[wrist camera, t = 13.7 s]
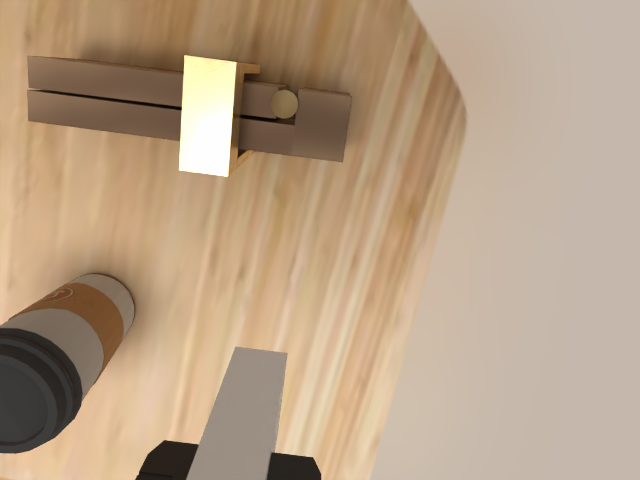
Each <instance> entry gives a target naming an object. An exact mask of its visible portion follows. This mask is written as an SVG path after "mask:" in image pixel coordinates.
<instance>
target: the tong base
mask: <svg viewBox="0 0 640 480" xmlns="http://www.w3.org/2000/svg"><path fill="white" fill-rule="evenodd" d="M27 95H28V121H33V122H40V123H48V124H55V125H63V126H71V127H78V128H86V129H93V130H101V131H109V132H116V133H124V134H131V135H139V136H146V137H154V138H162V139H169V140H177V141H180V140H181V119H182V107H179V106H171V105H163V104H155V103H147V102H139V101H131V100H123V99H115V98H107V97H99V96H91V95H83V94H75V93H67V92H59V91H51V90H27ZM351 100H352V96H351V95H350V94H349V93H342V92H334V91H327V90H319V89H312V88H302V89H300V90H299V91H298V99H297V97H296V96H295V94H294V93H292V92H291V91H288V90H280V91H278V92H276V93H275V94H274V95H273V96H272V98H271V102H270V105H271V109H272V112H273V113H274V114H275V115H276V116H277V118H276V119H275V118H267V117H259V116H251V115H243V114H241V118H240V130H239V143H238V149H245V150H253V151H260V152H268V153H275V154H283V155H291V156H298V157H306V158H313V159H321V160H329V161H336V162H343V157H344V150H345V143H346V136H347V128H348V121H349V114H350V107H351ZM295 113H296V117H293V115H294V114H295Z"/></svg>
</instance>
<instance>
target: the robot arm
mask: <svg viewBox="0 0 640 480" xmlns="http://www.w3.org/2000/svg"><path fill="white" fill-rule="evenodd" d="M286 361H287V353H281V352H273V351H265V350H258V349H250V348H242V347H235V350H234V352H233V355H232V358H231V360H230V363H229V366H228V368H227V371H226V374H225V376H224V379H223V382H222V385H221V387H220V390H219V393H218V395H217V398H216V401H215V403H214V406H213V409H212V411H211V414H210V417H209V420H208V422H207V425H206V428H205V430H204V433H203V436H202V438H201V441H200V444H199V445H198V444H190V443H182V442H174V441H166V440H164V441H163V442H162V443H161V444H159V445H158V446H157V447H156V448H155V449H154V450H152V451H151V452H150V453H149V454H148V455H147V457H146V459H145V461H144V463H143V465H142V467H141V469H140V471H139V475H137V477H136V479H135V480H321V473H320V471H319V469H318V467H317V465H316V462H315V460H314V458H313V457H305V456H297V455H289V454H281V453H274V452H275V446H276V440H277V434H278V426H279V418H280V410H281V402H282V393H283V385H284V377H285V369H286Z"/></svg>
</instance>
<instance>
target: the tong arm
mask: <svg viewBox="0 0 640 480" xmlns="http://www.w3.org/2000/svg"><path fill="white" fill-rule="evenodd" d="M183 77H184V72H177V71H169V70H161V69H153V68H145V67H137V66H129V65H121V64H114V63H106V62H98V61H90V60H82V59H70V58H54V57H38V56H28V79H29V88H35V89H43V90H51V91H59V92H67V93H75V94H83V95H91V96H99V97H107V98H115V99H123V100H131V101H139V102H147V103H155V104H163V105H171V106H179V107H182V98H183ZM280 90H288V85H281V84H273V83H265V82H257V81H249V80H244V81H243V93H242V106H241V114H243V115H251V116H259V117H267V118H275V119H276V118H277V116H276V115H275V114H274V113H273V112H272V109H271V105H270V102H271V98H272V96H273V95H274V94H275V93H276V92H278V91H280Z"/></svg>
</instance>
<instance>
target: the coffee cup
mask: <svg viewBox="0 0 640 480" xmlns="http://www.w3.org/2000/svg"><path fill="white" fill-rule="evenodd" d="M133 319H134V304H133V301H132V298H131V295H130V293H129V292H128V291H127V289H126V288H125V287H124V286H123V285H122V284H121V283H120V282H119V281H117V280H115V279H113V278H111V277H108V276H104V275H99V274H88V275H84V276H80V277H79V278H77V279H75V280H73V281H72V282H70V283H68V284H66V285H64V286H62V287H60V288H59V289H57V290H55V291H53V292H52V293H50V294H49V295H47V296H45V297H44V298H42V299H40V300H39V301H37V302H36V303H34V304H32V305H31V306H29V307H27V308H26V309H24V310H23V311H21V312H19V313H18V314H16V315H14V316H13V317H11V318H9V320H8V321H7V322H5V323H4V324H2V325H1V326H0V453H15V454H16V453H21V452H26V451H30V450H32V449H34V448H36V447H38V446H40V445H42V444H44V443H46V442H48V441H50V440H52V439H54V438H55V437H56V436H57V435H58V434H59V433H60V432H61V431H62V430H63V429H64V428H65V427H66V426H67V425H68V424H69V423H71V422H72V421H73V420H74V419H75V417H76V415H77V413H78V411H79V409H80V407H81V402H82V401H83V399H84V398H85V396H86V395H87V393H88V391H89V390H90V388H91V387H92V386H93V385H94V384H95V383H96V381H97V380H98V378H99V376H100V375H101V373H102V372H103V370H104V369H105V367H106V366H107V364H108V362H109V361H110V359H111V358H112V356H113V355H114V353H115V351H116V350H117V348H118V347H119V345H120V343H121V341H122V339H123V337H124V336H125V334H126V333H127V331H128V330H129V328H130V326H131V324H132V322H133Z"/></svg>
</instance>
